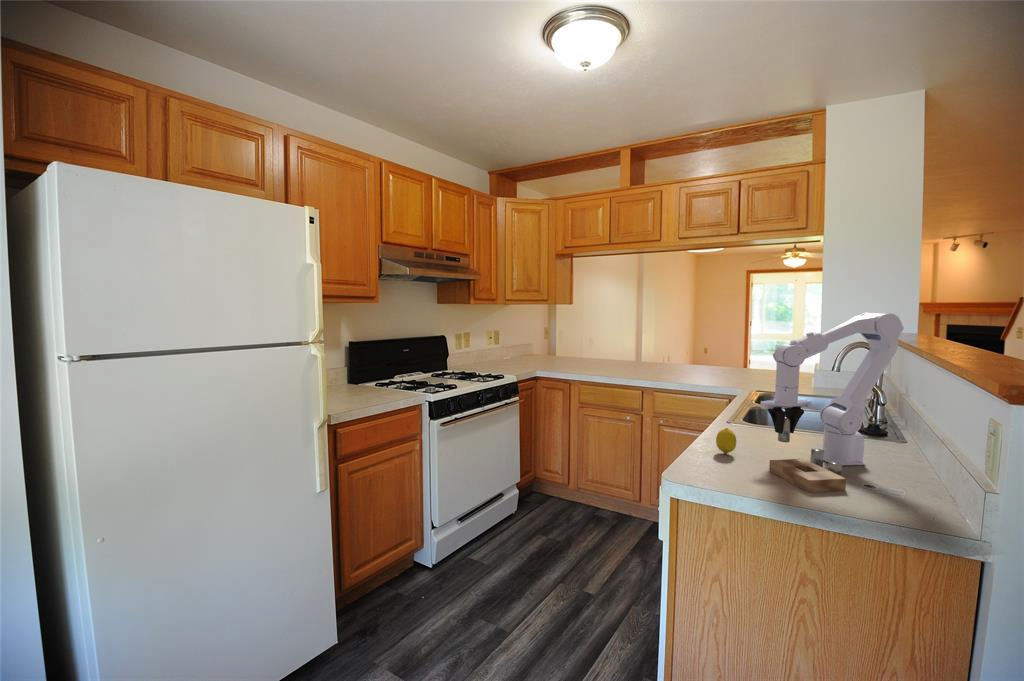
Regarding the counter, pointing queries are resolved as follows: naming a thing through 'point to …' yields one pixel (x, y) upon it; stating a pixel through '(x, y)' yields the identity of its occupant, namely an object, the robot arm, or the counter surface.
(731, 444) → the lemon
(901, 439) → the counter surface
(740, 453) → the counter surface
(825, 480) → the hole block
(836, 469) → the pin short
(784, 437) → the pin tall
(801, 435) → the counter surface
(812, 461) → the pin medium
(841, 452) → the robot arm
